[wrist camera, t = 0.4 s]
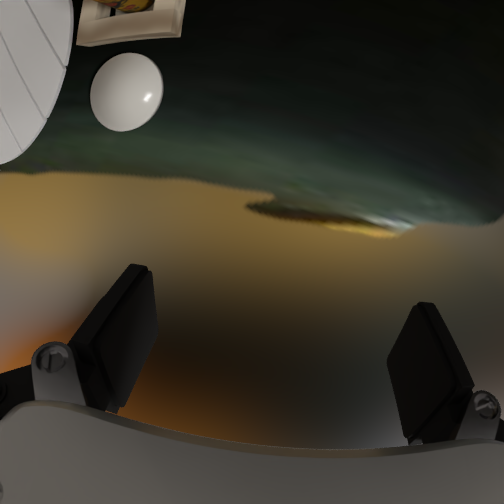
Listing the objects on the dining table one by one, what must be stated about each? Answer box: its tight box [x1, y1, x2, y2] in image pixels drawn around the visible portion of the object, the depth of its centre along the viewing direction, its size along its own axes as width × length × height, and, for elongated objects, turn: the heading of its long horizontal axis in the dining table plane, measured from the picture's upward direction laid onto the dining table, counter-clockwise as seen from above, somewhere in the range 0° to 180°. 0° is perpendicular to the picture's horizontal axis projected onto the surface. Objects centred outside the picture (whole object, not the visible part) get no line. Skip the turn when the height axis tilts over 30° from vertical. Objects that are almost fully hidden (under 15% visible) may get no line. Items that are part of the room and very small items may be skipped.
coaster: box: [90, 53, 164, 131], centre depth 34 cm, size 11×11×1 cm
